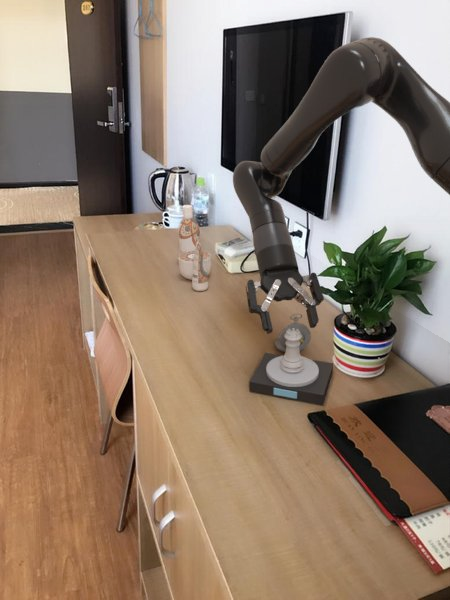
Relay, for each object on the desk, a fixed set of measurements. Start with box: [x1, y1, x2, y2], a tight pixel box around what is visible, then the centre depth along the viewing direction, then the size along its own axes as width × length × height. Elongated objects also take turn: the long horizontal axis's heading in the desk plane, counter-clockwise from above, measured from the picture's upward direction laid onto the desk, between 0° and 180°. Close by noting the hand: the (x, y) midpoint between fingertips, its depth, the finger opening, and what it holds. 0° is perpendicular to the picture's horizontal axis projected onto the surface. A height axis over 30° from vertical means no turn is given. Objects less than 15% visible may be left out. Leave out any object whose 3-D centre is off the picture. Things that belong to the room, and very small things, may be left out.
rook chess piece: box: [281, 328, 304, 374], centre depth 95 cm, size 4×4×8 cm
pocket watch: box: [274, 313, 312, 353], centre depth 107 cm, size 8×8×10 cm
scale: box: [248, 352, 334, 406], centre depth 97 cm, size 14×11×3 cm
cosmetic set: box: [177, 204, 212, 292], centre depth 143 cm, size 25×9×19 cm, turn 12°
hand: (292, 329), depth 93 cm, fingers open, 8 cm apart
